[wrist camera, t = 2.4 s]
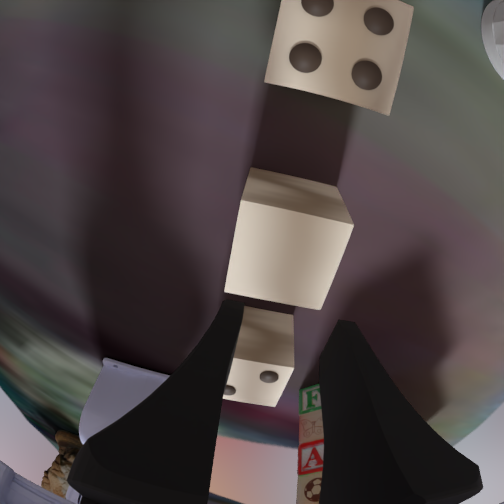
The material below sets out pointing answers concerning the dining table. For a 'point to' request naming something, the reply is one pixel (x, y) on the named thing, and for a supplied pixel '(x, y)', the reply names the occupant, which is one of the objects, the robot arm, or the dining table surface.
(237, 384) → the dotted block
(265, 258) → the plain block
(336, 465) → the robot arm
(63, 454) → the brown lumpy figurine
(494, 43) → the cup
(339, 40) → the dotted block
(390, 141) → the dining table surface
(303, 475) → the stack of blocks
